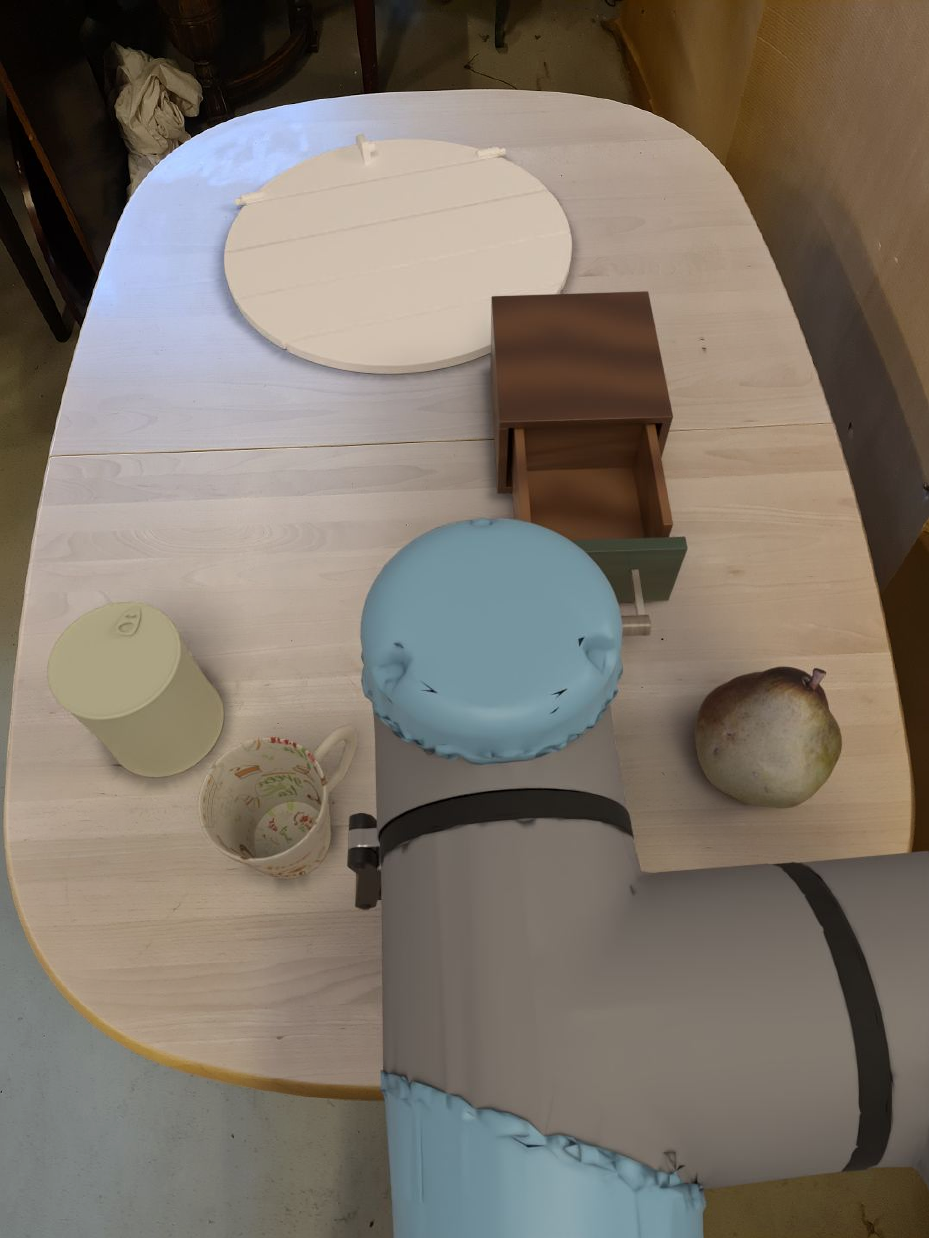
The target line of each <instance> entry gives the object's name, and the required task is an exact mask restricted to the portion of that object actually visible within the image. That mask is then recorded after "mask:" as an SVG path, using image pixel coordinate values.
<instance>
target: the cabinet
mask: <svg viewBox="0 0 929 1238" xmlns="http://www.w3.org/2000/svg"><path fill="white" fill-rule="evenodd" d="M489 361H490V364H489V365H490V366H489V367H490V368H489V371H490V373H489V375H490V390H491V406H492V407H491V409H492V426H493V441H494V443H493V444H494V457H495V458H494V460H495V477H496V493H497V494H512V482H511V454H512V434H513V428H526V427H557V426H589V425H621V424H652V423H655V427H656V433H657V438H658V443H659V449H660V454H661V459H662V458H663V455H664V451H665V447H666V444H667V441H668V436H669V433H670V430H671V425H672V422H673V418H674V414H673V408H672V404H671V398H670V394H669V389H668V384H667V379H666V378H667V377H666V374H665V368H664V364H663V358H662V353H661V349H660V344H659V338H658V334H657V327H656V322H655V318H654V313H653V307H652V303H651V298H650V293H649V291H648V290H647V291H646V290H645V291H643V290H642V291H613V292H612V291H610V292H583V293H582V292H581V293H580V292H579V293H560V294H546V295H514V296H492V297H491V353H490V360H489Z"/></svg>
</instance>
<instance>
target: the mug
mask: <svg viewBox="0 0 929 1238" xmlns="http://www.w3.org/2000/svg"><path fill="white" fill-rule="evenodd" d="M342 742H344V748H343V751H342V755H341V758H340V761H339V763H338V765H337V766H336V768H334V769H335V770H334V771H333V773H332V774H331V776H330V777H329V778H328V780H326V777H325V773H324V771H323V768H322V767H321V765H320V764H321V762H322V761H323V760H324V758H325V757H326V756H327V755H328V753H330V751H331V750H332V749H333V748H334V747H336V745H338V744H339V743H342ZM358 743H359V731H358V729H357V727H356V726H355V725H352V724H345V725H342V726H339V727H337V728H335V729H334V730H332V731H331V732H330V733H329V734H328V735H327V736H326V737H325V738H324V739H323V740H322V742H321V743H320V744H319V745H318V746H317V747H316V748H315V749H314V751H313V752H312V753H311V752H310V751H308V750H307V749H306V748H305V747H304V746H302V745H301V744H298V743H297V742H295V741H292V740H290V739H287V738H283V737H276V736H275V737H274V736H265V737H264V736H263V737H257V738H252V739H248V740H246V741H243V742H240V743H239V744H237V745H235V746H233V747H232V748H230V749H228V750H227V751H226V752H224V753H223V754H222V755H221V756H220V757H219V758H218V759H217V760H216V761H215V762H214V763H213V764H212V765H211V767H210V768H209V770H208V771H207V773H206V775H205V776H204V779H203V781H202V783H201V787H200V789H199V794H198V799H197V814H198V820H199V823H200V826H201V829H202V831H203V834H204V835H205V837H206V838H207V840H208V841H209V843H210V844H211V845H212V846H213V847H214V848H216V850H218V851H219V852H220V853H222V854H223V855H224V856H226V857H227V858H229V859H232V860H233V861H235V862H238V863H240V864H243V865H245V866H247V867H250V868H252V869H255V870H256V871H258V872H261V873H263V874H264V875H265V874H266V875H268V876H269V877H273V878H275V879H276V878H277V879H281V880H282V879H283V880H290V879H297V878H300V877H303V876H306V875H307V874H309V873H311V872H312V871H313V870H315V869H316V868H317V867H318V866H319V865H320V864H321V863H322V861H323V860H324V859H325V857H326V855H327V853H328V852H329V848H330V846H331V840H332V839H331V838H332V827H331V815H330V804H329V795H330V794H331V792H332V791H333V790H334V789H335V788H336V787H337V786H338V785H339V784H340V782H342V780H343V779H344V778H345V776H346V774H347V773H348V771H349V769H350V767H351V764H352V762H353V759H354V757H355V754H356V751H357V747H358Z"/></svg>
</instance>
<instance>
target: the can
mask: <svg viewBox="0 0 929 1238" xmlns="http://www.w3.org/2000/svg"><path fill="white" fill-rule="evenodd" d="M46 676H47V677H46V679H47V683H48V688H49V690H50V692H51V694H52V696H53V698H54V699H55V701H56V702H57V704H59V706H60V707H62V708H63V709H64V710H66V711H67V712H68V713H70V714H71V715H72V716H73V717H74V718H75V719H77V720H78V722H80V723H81V724H82V725H83V726H84V727H85V728H86V729H87V730H88V731H89V732H91V733H92V734H93V736H95V737H96V738H97V739H98V740H99V741H100V742H101V743H102V744H103V745H104V747H106V748H107V749H108V750H109V751H110V752H111V754H112V756H113V757H114V758H115V760H116V761H117V762H118V763H119V765H121V766H122V767H123V768H124V769H126V770H127V771H129V772H130V773H133V774H135V775H138V776H141V777H147V778H165V777H171V776H175V775H178V774H181V773H183V772H185V771H187V770H189V769H191V768H192V767H194V766H196V765H197V764H199V763H200V762H201V761H202V760H203V759H204V758H205V757H206V756H207V755H208V754H209V753H210V751H211V750H212V749H213V748H214V746H215V745H216V743H217V742H218V739H219V737H220V735H221V732H222V729H223V725H224V718H225V713H224V712H225V711H224V705H223V701H222V697H221V696H220V694H219V692H218V690H217V689H216V688H215V686H214V685H213V684H212V683H211V682H210V681H209V680H208V678H207V677H206V676H205V675H204V673H203V671H202V670H201V668H200V666H199V665H198V663H197V662H196V660H195V659H194V657H193V655H192V654H191V652H190V651H189V649H188V648H187V646H186V644H185V642H184V641H183V639H182V638H181V635H180V633H179V630H178V629H177V626H176V625H175V623H174V622H173V621H172V620H171V618H170V617H169V616H168V615H166V614H165V612H163V611H161V610H160V609H158V608H156V607H154V606H151V605H149V604H145V603H142V602H135V601H120V602H119V601H118V602H113V603H109V604H108V603H107V604H105V605H102V606H99V607H96V608H94V609H92V610H90V611H88V612H86V613H85V614H83V615H81V616H80V617H79V618H77V619H75V620H74V621H73V622H72V623H71V624H70V625H69V626H68V627H66V629H64V631H63V632H62V633H61V634H60V636H59V637H58V639H57V640H56V641H55V643H54V645H53V648H52V649H51V652H50V654H49V658H48V662H47V669H46Z"/></svg>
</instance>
